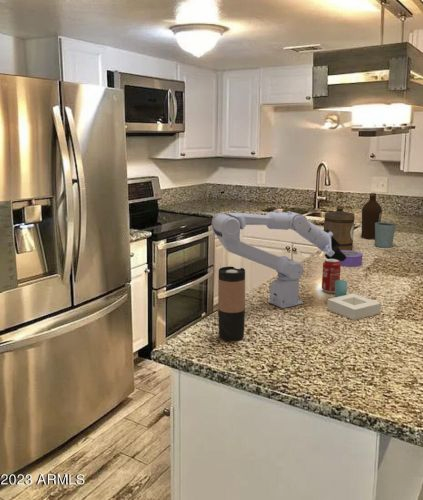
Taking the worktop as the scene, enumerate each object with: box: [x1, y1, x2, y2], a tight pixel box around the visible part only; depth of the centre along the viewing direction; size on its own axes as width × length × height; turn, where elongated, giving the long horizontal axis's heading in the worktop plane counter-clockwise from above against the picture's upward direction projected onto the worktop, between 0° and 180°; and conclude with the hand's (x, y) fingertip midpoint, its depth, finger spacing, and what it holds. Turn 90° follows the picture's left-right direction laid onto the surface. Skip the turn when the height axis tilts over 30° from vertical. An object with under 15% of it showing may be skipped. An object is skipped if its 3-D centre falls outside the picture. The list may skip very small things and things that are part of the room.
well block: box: [326, 293, 382, 321], centre depth 165 cm, size 12×12×4 cm
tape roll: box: [339, 250, 363, 268], centre depth 226 cm, size 12×12×5 cm
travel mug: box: [217, 265, 246, 342], centre depth 143 cm, size 8×8×20 cm
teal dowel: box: [333, 279, 348, 298], centre depth 175 cm, size 4×4×7 cm
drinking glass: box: [374, 221, 397, 249], centre depth 260 cm, size 10×10×12 cm
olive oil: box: [360, 192, 383, 240], centre depth 280 cm, size 11×11×25 cm
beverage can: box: [321, 258, 342, 294], centre depth 186 cm, size 6×6×12 cm
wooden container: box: [323, 205, 356, 251], centre depth 253 cm, size 15×15×22 cm
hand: (340, 252), depth 178 cm, fingers open, 7 cm apart
